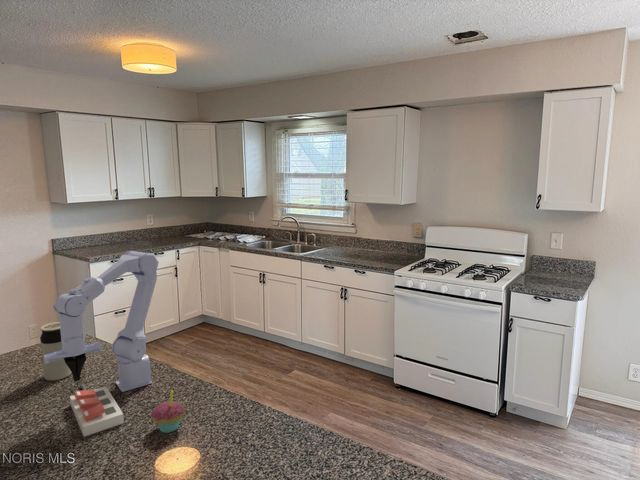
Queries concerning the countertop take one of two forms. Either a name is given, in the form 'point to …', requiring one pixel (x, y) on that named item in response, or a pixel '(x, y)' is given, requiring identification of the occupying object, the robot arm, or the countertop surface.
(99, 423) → the power strip
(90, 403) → the rocker middle
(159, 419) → the cupcake
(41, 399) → the countertop surface
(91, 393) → the rocker
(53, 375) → the travel mug
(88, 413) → the rocker
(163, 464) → the countertop surface
